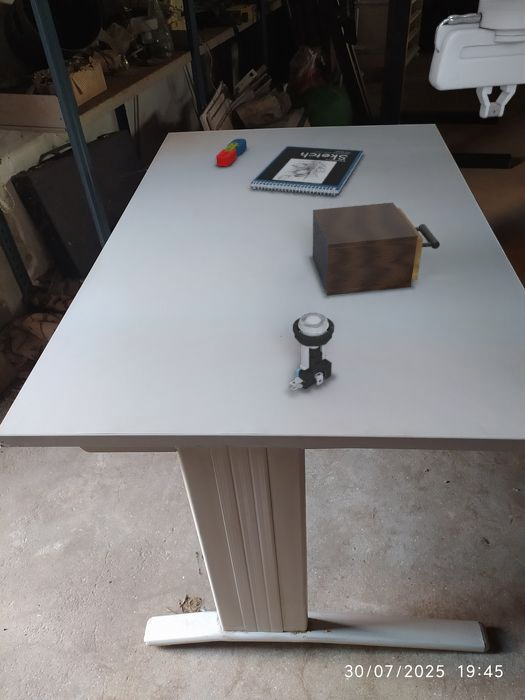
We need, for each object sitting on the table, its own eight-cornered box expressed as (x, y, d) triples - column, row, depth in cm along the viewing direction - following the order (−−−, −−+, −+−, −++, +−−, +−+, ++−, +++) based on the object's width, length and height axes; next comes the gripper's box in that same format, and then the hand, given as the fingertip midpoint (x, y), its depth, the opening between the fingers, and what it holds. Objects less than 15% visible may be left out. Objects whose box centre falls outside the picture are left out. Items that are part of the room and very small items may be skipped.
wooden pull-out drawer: (417, 244, 102) (422, 205, 97) (441, 277, 92) (448, 236, 88) (325, 253, 101) (326, 214, 96) (339, 287, 92) (341, 246, 87)
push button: (304, 402, 71) (303, 342, 65) (278, 382, 75) (275, 323, 68) (340, 380, 74) (343, 320, 68) (314, 362, 78) (314, 303, 72)
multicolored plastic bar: (228, 168, 143) (227, 156, 141) (214, 167, 144) (213, 156, 142) (248, 148, 155) (247, 137, 154) (235, 147, 156) (235, 136, 155)
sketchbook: (362, 155, 146) (363, 147, 145) (337, 198, 124) (337, 189, 123) (286, 150, 152) (286, 142, 151) (249, 190, 130) (249, 181, 129)
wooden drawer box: (388, 250, 103) (393, 202, 97) (410, 287, 92) (418, 235, 86) (312, 257, 102) (312, 209, 96) (326, 295, 91) (328, 244, 86)
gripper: (446, 19, 71) (431, 127, 80) (595, 8, 72) (564, 116, 81) (430, 13, 76) (417, 116, 85) (569, 3, 77) (543, 105, 86)
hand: (490, 116), depth 83 cm, fingers closed
